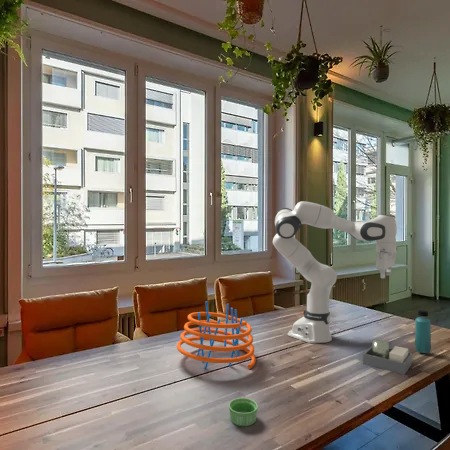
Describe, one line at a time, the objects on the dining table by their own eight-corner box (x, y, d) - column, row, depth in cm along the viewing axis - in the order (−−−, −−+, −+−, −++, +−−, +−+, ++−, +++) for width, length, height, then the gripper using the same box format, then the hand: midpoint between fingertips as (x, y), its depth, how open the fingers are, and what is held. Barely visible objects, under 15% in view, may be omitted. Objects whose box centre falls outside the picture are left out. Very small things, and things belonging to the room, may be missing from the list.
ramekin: (232, 409, 114) (233, 395, 113) (260, 413, 111) (260, 400, 111) (225, 424, 105) (225, 410, 105) (254, 430, 102) (254, 415, 102)
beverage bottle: (433, 357, 157) (434, 313, 156) (417, 355, 158) (417, 312, 158) (427, 351, 163) (428, 309, 163) (412, 350, 165) (413, 308, 164)
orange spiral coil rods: (205, 342, 176) (211, 295, 176) (268, 363, 157) (274, 310, 158) (158, 359, 147) (165, 303, 147) (228, 388, 128) (236, 323, 129)
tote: (362, 365, 147) (363, 353, 147) (372, 355, 158) (373, 344, 158) (404, 376, 137) (404, 364, 137) (412, 365, 148) (412, 353, 148)
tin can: (369, 361, 150) (370, 341, 150) (375, 357, 154) (376, 338, 154) (384, 365, 145) (385, 345, 145) (390, 361, 149) (391, 342, 149)
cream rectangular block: (389, 368, 143) (389, 352, 143) (395, 360, 151) (395, 345, 150) (402, 372, 140) (402, 356, 139) (408, 364, 147) (408, 348, 147)
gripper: (387, 250, 158) (386, 280, 158) (398, 247, 174) (397, 274, 174) (372, 249, 162) (372, 278, 162) (384, 246, 178) (384, 273, 178)
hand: (385, 276), depth 168 cm, fingers open, 8 cm apart
